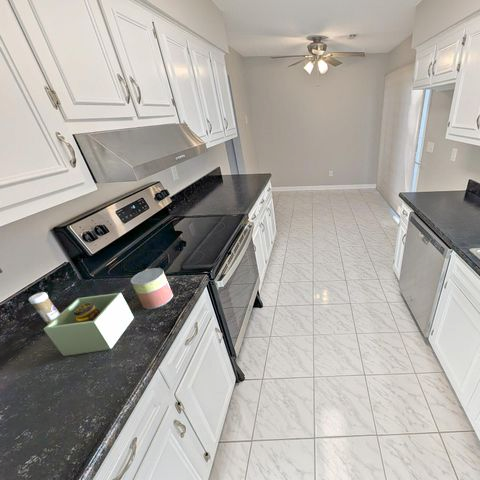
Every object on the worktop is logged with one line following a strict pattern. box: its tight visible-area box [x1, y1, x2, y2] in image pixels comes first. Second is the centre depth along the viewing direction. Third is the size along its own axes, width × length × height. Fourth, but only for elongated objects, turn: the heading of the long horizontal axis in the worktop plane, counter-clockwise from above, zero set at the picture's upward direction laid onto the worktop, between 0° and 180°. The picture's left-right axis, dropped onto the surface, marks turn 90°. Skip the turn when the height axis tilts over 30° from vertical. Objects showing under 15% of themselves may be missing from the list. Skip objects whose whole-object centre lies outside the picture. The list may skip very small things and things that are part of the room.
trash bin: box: [43, 292, 135, 357], centre depth 87 cm, size 15×15×12 cm
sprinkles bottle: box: [28, 291, 61, 325], centre depth 93 cm, size 5×5×14 cm
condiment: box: [73, 303, 100, 323], centre depth 87 cm, size 7×8×12 cm
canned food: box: [130, 267, 174, 310], centre depth 103 cm, size 11×11×12 cm
